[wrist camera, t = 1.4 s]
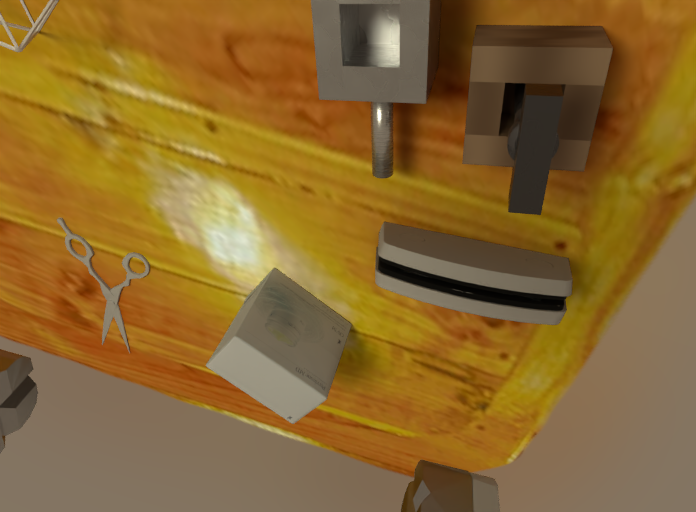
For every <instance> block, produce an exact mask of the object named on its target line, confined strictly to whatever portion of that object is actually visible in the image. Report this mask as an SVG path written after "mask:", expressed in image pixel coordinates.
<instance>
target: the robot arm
mask: <svg viewBox="0 0 696 512" xmlns="http://www.w3.org/2000/svg"><path fill="white" fill-rule="evenodd" d="M32 370H33V366H32V362H31V358H29V357H26V356H22V355H19V354H15V353H11V352H8V351H4V350H1V349H0V453H1V451H2V450H3V449H4V448H5V436H6V435H8V434H10V433H13V432H14V431H17V430H19V429H20V428H21V427H22V426H23V425H24V423H25V422H26V421H27V420H28V418H29V417H30V415H31V413H32V411H33V409H34V407H35V404H36V401H37V394H38V391H37V386H36V383H35V382H34V381H33V380H32V379H31V378H30V377H29V376H28V374H30V372H31V371H32ZM401 512H500V508H499V496H498V485H497V483H496V481H495V479H493V478H490V477H486V476H482V475H478V474H474V473H470V472H468V471H466V470H462V469H457V468H453V467H449V466H445V465H441V464H437V463H433V462H429V461H425V460H420V461H419V462H418V464H417V466H416V468H415V476H414V481H412V482H410V483H409V484H408V487H407V489H406V492H405V495H404V499H403V503H402V508H401Z"/></svg>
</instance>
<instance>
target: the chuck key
mask: <svg viewBox="0 0 696 512" xmlns="http://www.w3.org/2000/svg"><path fill="white" fill-rule="evenodd" d="M563 97H564V96H563V91H562V86H561V84H535V83H516V85H515V88H514V124H513V125H512V126H511V128H510V130H509V132H508V138H507V149H508V153H509V155H510V157H511V158H512V159H513V160H514V164H513V171H512V177H511V184H510V191H509V208H508V212H512V213H525V214H537V215H541V210H542V205H543V200H544V195H545V190H546V185H547V179H548V174H549V169H550V164H551V159H552V158H553V157H554V156H555V154H556V152H557V150H558V147H559V136H558V130H557V128H558V123H559V118H560V113H561V107H562V102H563Z"/></svg>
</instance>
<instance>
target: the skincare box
mask: <svg viewBox="0 0 696 512" xmlns="http://www.w3.org/2000/svg"><path fill="white" fill-rule="evenodd" d="M350 328H351V323H349V322H348V321H347V320H345V319H344V318H343V317H341V316H340V315H339V314H337V313H336V312H334V311H333V310H332V309H330V308H329V307H328V306H326V305H325V304H324V303H322V302H321V301H319V300H318V299H317V298H315V297H314V296H313V295H311V294H310V293H309V292H307V291H306V290H304V289H303V288H302V287H300V286H299V285H298V284H296V283H295V282H294V281H292V280H291V279H289V278H288V277H287V276H285V275H284V274H283V273H281V272H280V271H279V270H277V269H276V268H273V269H272V270H271V271H270V272H269V274H268V275H267V276H266V277H265V278H264V279H263V280H262V281H261V282H260V283H259V285H258V286H257V287H256V288H255V289H254V290H253V291H252V292H251V293H250V294H249V295H248V296H247V297H246V299H245V301H244V304H243V306H242V307H241V309H240V310H239V312H238V314H237V315H236V317H235V319H234V320H233V322H232V324H231V325H230V327H229V329H228V330H227V332H226V334H225V335H224V337H223V339H222V340H221V342H220V344H219V345H218V347H217V349H216V350H215V352H214V353H213V355H212V357H211V358H210V359H209V361H208V362H207V364H206V367H208V368H209V369H211V370H212V371H214V372H215V373H217V374H218V375H220V376H221V377H223V378H224V379H226V380H227V381H229V382H230V383H232V384H233V385H235V386H236V387H238V388H239V389H241V390H242V391H244V392H245V393H247V394H248V395H250V396H251V397H253V398H254V399H256V400H257V401H259V402H260V403H262V404H263V405H265V406H266V407H268V408H269V409H271V410H272V411H274V412H275V413H277V414H278V415H280V416H281V417H283V418H285V419H286V420H287V421H289V422H290V423H292V424H294V423H295V422H297V421H298V420H299V419H301V418H302V417H303V416H305V415H306V414H307V413H309V412H310V411H312V410H313V409H314V408H316V407H317V406H319V405H320V404H321V403H322V402H324V401H325V400H326V399H327V396H328V393H329V390H330V387H331V384H332V381H333V379H334V376H335V373H336V370H337V367H338V363H339V361H340V358H341V355H342V352H343V349H344V346H345V343H346V340H347V337H348V334H349V331H350Z"/></svg>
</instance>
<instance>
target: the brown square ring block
mask: <svg viewBox="0 0 696 512" xmlns="http://www.w3.org/2000/svg"><path fill="white" fill-rule="evenodd" d="M612 51H613V47H612V45H611V43H610V41H609V39H608V37H607V35H606V33H605V31H604V29H603V27H602V26H521V25H477V27H476V32H475V37H474V42H473V47H472V59H471V71H470V82H469V94H468V106H467V117H466V129H465V140H464V152H463V164H475V165H491V166H506V167H513V164H514V160H513V159H512V158H511V157H510V155H509V153H508V149H507V138H508V132H509V130H510V128H511V126H512V125H513V124H514V88H515V85H516V83H535V84H561V86H562V91H563V96H564V97H563V102H562V107H561V113H560V118H559V123H558V128H557V130H558V136H559V147H558V150H557V152H556V154H555V156H554V157H553V158H552V159H551V164H550V169H553V170H569V171H584V169H585V165H586V160H587V156H588V152H589V148H590V144H591V139H592V135H593V131H594V127H595V122H596V118H597V114H598V110H599V106H600V101H601V97H602V93H603V89H604V85H605V80H606V76H607V72H608V68H609V64H610V59H611V55H612Z"/></svg>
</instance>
